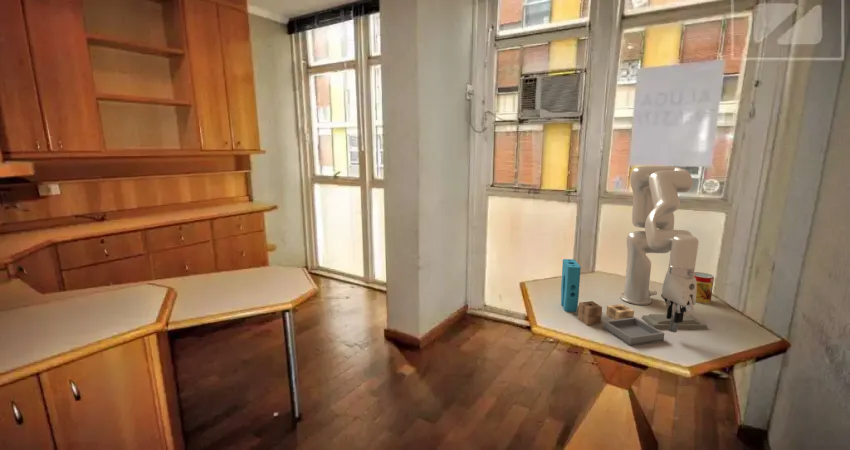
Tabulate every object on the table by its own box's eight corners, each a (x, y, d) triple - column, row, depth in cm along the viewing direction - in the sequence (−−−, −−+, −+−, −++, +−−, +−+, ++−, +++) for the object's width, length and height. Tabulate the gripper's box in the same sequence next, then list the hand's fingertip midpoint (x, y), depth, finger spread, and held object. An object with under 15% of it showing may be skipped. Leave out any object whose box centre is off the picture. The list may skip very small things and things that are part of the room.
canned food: (714, 304, 173) (718, 277, 171) (695, 303, 174) (698, 277, 172) (704, 297, 181) (707, 272, 178) (685, 296, 182) (689, 271, 179)
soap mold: (708, 331, 149) (709, 322, 149) (654, 330, 150) (655, 322, 149) (690, 319, 159) (691, 311, 159) (640, 319, 160) (641, 311, 159)
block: (578, 313, 164) (581, 267, 161) (565, 313, 165) (568, 267, 161) (571, 302, 176) (574, 259, 172) (559, 302, 177) (562, 259, 173)
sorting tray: (634, 324, 154) (635, 317, 154) (663, 341, 141) (664, 333, 140) (603, 328, 151) (603, 321, 150) (630, 346, 138) (630, 338, 137)
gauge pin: (672, 328, 142) (677, 297, 140) (678, 331, 140) (683, 300, 137) (667, 329, 142) (671, 298, 139) (672, 332, 139) (677, 301, 137)
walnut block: (591, 317, 161) (592, 301, 160) (600, 323, 155) (602, 306, 154) (578, 319, 159) (579, 302, 158) (587, 325, 154) (588, 308, 152)
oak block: (620, 313, 165) (621, 304, 164) (633, 320, 158) (634, 310, 157) (606, 314, 163) (606, 305, 162) (618, 322, 156) (619, 312, 156)
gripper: (711, 277, 129) (703, 329, 133) (670, 262, 144) (664, 309, 148) (692, 280, 127) (685, 332, 131) (653, 264, 143) (647, 311, 147)
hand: (674, 319), depth 140 cm, fingers closed on gauge pin, 2 cm apart
